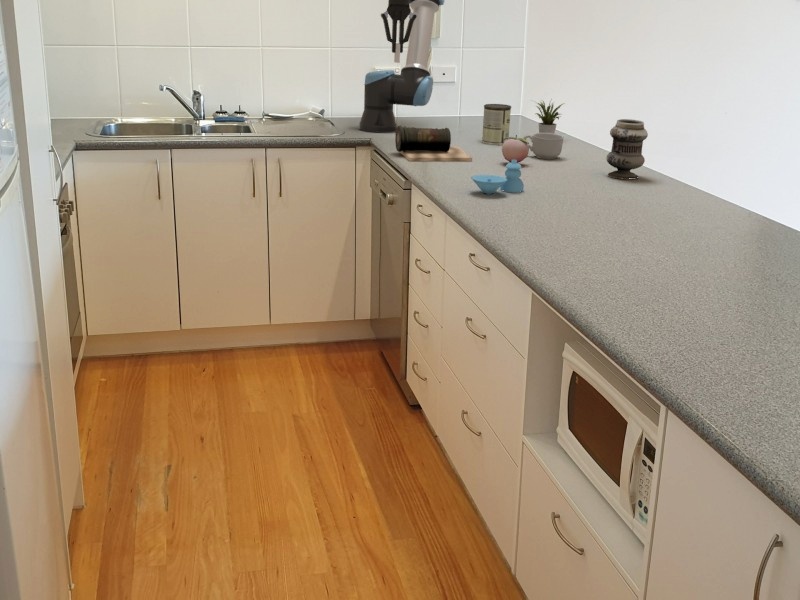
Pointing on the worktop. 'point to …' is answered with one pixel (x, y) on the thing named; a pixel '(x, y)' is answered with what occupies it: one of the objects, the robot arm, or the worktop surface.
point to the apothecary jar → (626, 147)
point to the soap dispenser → (501, 180)
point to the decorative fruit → (515, 149)
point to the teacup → (546, 145)
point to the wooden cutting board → (437, 155)
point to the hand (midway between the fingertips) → (396, 62)
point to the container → (422, 139)
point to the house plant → (548, 118)
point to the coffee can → (496, 123)
